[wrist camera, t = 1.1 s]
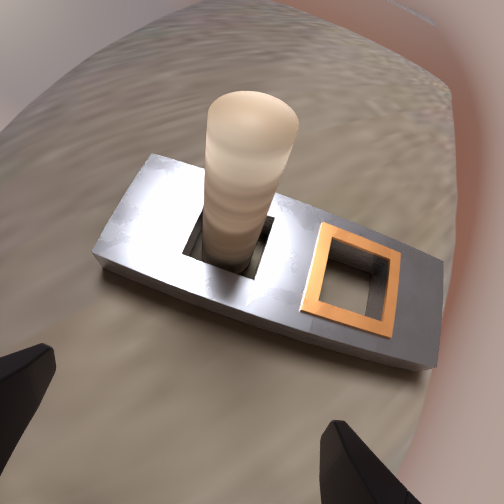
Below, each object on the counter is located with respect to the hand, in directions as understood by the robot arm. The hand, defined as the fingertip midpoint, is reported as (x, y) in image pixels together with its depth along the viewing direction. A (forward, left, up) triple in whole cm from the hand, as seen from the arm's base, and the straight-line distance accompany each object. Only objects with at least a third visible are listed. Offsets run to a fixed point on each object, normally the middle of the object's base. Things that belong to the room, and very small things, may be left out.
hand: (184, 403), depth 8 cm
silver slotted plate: (+10, -5, -13) cm, 18 cm away
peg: (+11, -1, -13) cm, 17 cm away
